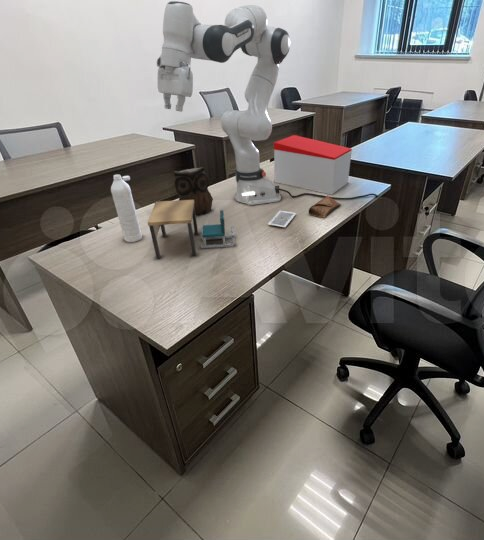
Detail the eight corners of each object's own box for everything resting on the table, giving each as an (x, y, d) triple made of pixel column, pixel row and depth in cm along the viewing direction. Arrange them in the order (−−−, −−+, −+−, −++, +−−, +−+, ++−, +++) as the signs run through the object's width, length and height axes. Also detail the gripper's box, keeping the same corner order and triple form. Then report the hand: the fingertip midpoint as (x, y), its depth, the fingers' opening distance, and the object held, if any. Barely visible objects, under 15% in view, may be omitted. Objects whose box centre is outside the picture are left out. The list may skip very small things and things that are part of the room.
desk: (198, 233, 137) (194, 199, 129) (196, 256, 122) (190, 219, 114) (162, 235, 135) (155, 201, 127) (156, 259, 120) (147, 222, 112)
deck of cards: (296, 215, 151) (296, 210, 150) (285, 229, 140) (285, 224, 138) (279, 212, 154) (279, 208, 152) (267, 226, 142) (267, 221, 141)
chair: (234, 236, 134) (232, 209, 128) (235, 246, 128) (233, 218, 122) (202, 238, 133) (198, 211, 126) (201, 248, 126) (197, 220, 120)
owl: (215, 209, 156) (210, 165, 145) (199, 220, 146) (192, 174, 135) (192, 205, 160) (185, 162, 149) (175, 215, 151) (166, 170, 140)
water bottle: (120, 240, 132) (102, 176, 118) (133, 233, 136) (117, 171, 123) (137, 245, 128) (120, 180, 115) (150, 237, 133) (135, 174, 120)
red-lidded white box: (292, 171, 203) (293, 134, 191) (347, 182, 187) (352, 143, 175) (273, 181, 188) (273, 142, 176) (331, 194, 172) (335, 152, 161)
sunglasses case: (325, 217, 148) (319, 203, 146) (312, 222, 153) (306, 208, 151) (342, 204, 161) (336, 190, 159) (329, 208, 165) (324, 195, 164)
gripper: (200, 65, 103) (195, 114, 108) (173, 65, 117) (170, 109, 122) (180, 59, 99) (176, 110, 104) (154, 60, 113) (152, 105, 118)
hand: (173, 110), depth 113 cm, fingers open, 8 cm apart
